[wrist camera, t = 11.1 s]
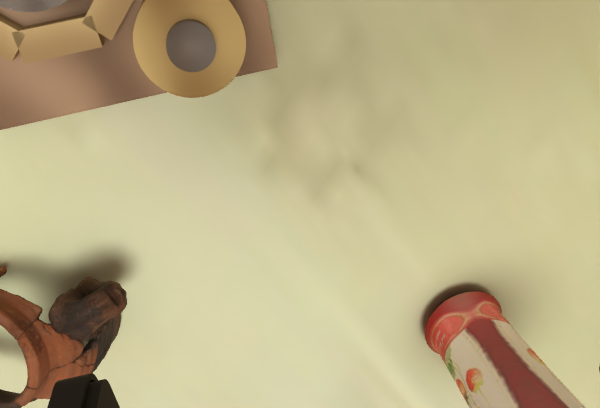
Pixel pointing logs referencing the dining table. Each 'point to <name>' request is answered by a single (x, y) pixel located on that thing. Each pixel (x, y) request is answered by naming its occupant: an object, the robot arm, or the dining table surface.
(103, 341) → the brown creature figurine
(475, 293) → the liquor
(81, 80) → the carrier board
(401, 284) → the dining table surface
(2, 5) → the knobbed round disc
